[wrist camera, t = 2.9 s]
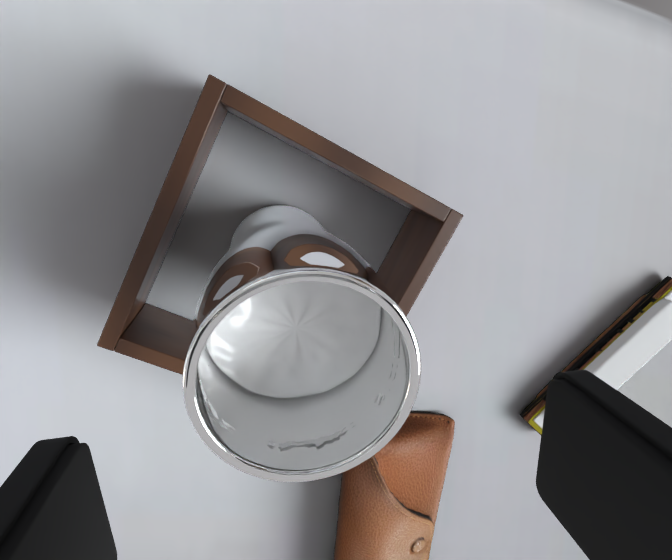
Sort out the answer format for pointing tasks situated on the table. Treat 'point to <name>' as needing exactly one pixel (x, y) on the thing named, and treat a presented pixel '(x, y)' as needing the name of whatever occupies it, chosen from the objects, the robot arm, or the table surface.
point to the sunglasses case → (396, 494)
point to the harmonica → (621, 346)
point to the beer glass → (297, 353)
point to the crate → (215, 100)
